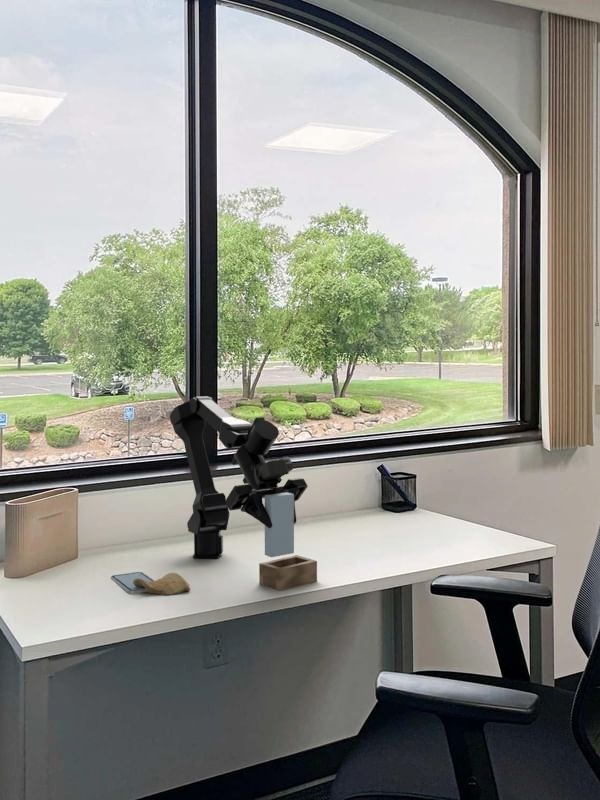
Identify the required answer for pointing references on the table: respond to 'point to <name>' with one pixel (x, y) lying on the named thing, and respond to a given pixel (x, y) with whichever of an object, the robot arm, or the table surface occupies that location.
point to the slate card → (280, 524)
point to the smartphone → (131, 581)
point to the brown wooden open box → (287, 572)
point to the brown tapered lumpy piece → (164, 585)
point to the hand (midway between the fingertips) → (283, 525)
